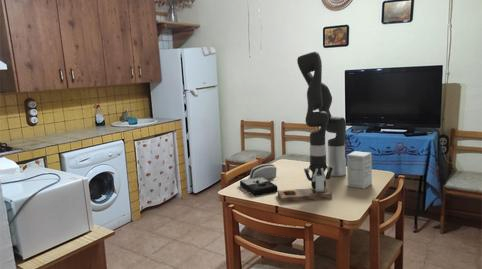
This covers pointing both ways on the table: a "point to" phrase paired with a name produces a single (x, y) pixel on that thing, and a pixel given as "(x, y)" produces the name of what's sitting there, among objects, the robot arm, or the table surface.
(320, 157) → the robot arm
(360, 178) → the supplement box
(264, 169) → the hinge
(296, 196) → the hole board
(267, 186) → the multimeter
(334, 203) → the table surface
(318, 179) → the steel peg
